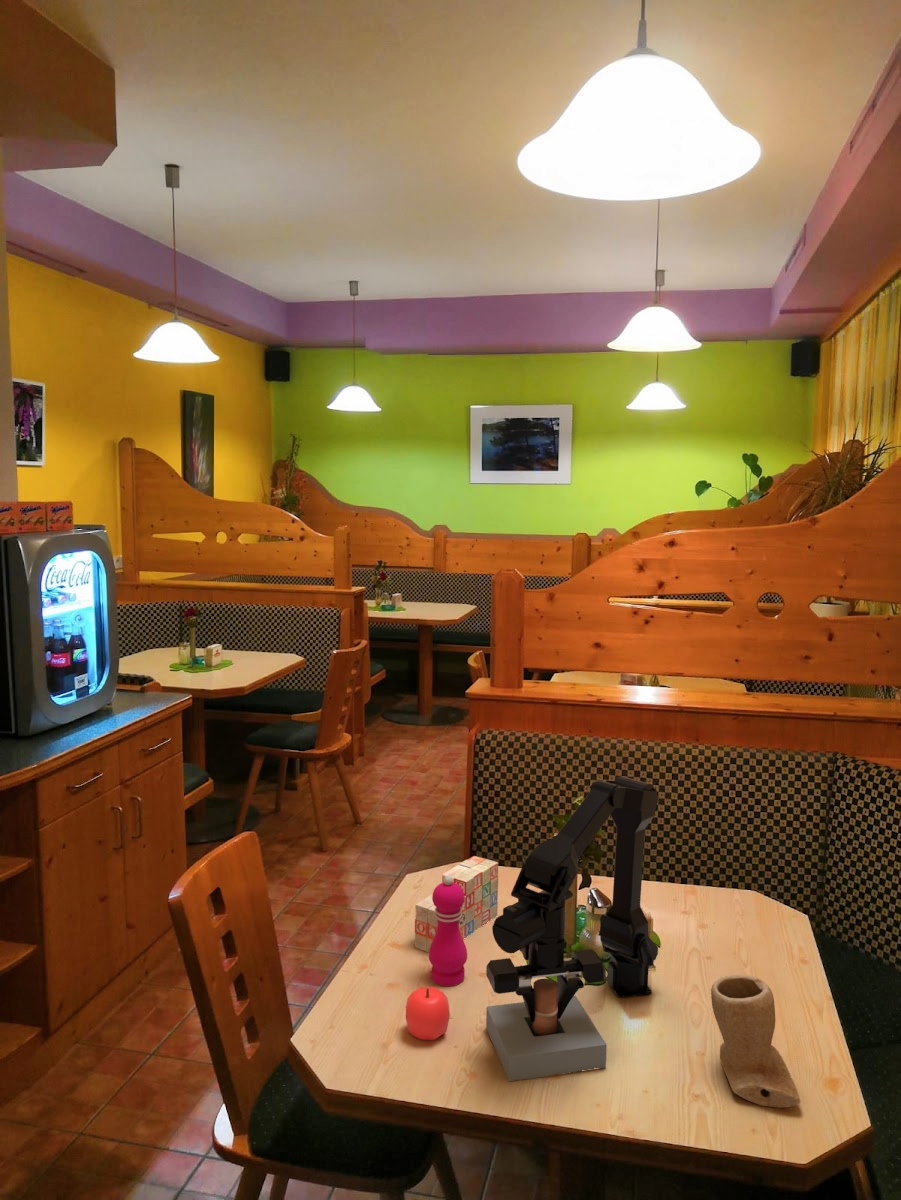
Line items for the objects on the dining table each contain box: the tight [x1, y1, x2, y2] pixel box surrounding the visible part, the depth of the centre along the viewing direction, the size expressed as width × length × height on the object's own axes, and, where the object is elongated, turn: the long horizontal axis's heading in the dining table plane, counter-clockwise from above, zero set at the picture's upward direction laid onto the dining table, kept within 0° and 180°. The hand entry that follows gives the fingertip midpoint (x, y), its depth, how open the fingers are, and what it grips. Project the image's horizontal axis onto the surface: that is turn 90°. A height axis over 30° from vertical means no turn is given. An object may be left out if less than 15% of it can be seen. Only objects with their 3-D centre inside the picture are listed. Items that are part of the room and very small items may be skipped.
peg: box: [532, 978, 558, 1036], centre depth 147 cm, size 4×4×8 cm
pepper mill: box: [428, 876, 468, 987], centre depth 168 cm, size 7×7×20 cm
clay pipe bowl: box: [710, 974, 801, 1108], centre depth 140 cm, size 15×12×15 cm
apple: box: [405, 986, 450, 1041], centre depth 152 cm, size 8×8×8 cm
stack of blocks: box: [414, 855, 499, 954], centre depth 186 cm, size 21×6×12 cm, turn 145°
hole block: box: [485, 995, 608, 1082], centre depth 148 cm, size 16×14×4 cm
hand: (544, 1019), depth 148 cm, fingers closed on peg, 4 cm apart
